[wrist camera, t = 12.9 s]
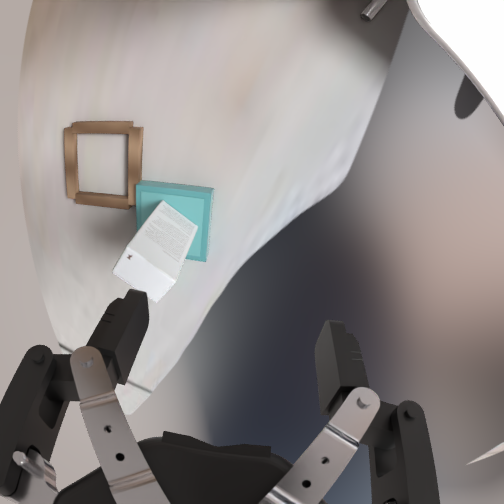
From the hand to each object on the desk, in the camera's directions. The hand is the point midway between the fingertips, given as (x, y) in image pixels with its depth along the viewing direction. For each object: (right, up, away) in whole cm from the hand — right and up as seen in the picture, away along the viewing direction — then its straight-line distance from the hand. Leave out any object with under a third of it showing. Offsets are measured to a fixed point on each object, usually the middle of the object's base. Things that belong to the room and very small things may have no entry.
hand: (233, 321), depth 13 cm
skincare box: (-10, +7, +26) cm, 28 cm away
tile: (-10, +8, +28) cm, 30 cm away
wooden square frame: (-20, +15, +24) cm, 34 cm away
